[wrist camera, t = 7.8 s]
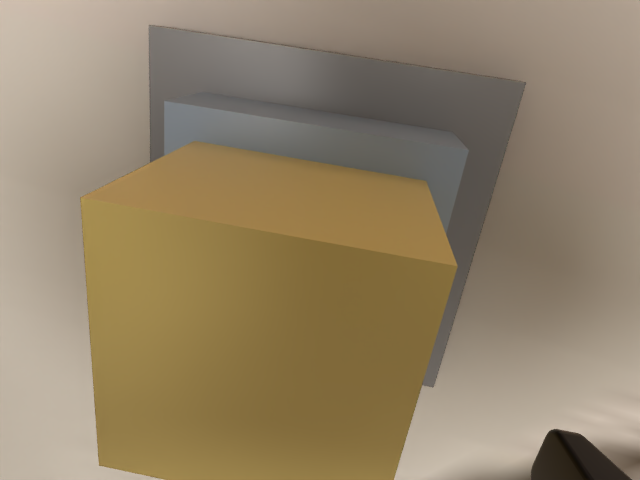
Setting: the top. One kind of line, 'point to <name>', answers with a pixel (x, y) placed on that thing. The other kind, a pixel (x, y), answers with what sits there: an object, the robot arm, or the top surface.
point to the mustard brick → (260, 315)
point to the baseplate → (358, 93)
